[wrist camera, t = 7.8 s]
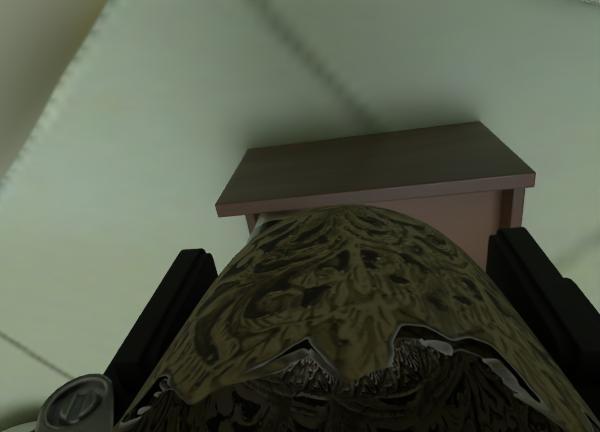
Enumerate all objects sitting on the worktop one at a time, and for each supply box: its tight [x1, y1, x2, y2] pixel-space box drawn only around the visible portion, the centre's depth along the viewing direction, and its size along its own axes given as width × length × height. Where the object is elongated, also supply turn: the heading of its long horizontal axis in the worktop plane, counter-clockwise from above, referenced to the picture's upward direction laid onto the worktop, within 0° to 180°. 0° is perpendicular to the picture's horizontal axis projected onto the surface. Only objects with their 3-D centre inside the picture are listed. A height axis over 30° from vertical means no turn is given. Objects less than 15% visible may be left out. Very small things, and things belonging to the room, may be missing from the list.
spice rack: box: [215, 122, 536, 273], centre depth 29 cm, size 18×16×9 cm
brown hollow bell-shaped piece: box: [111, 204, 600, 432], centre depth 9 cm, size 8×7×8 cm
